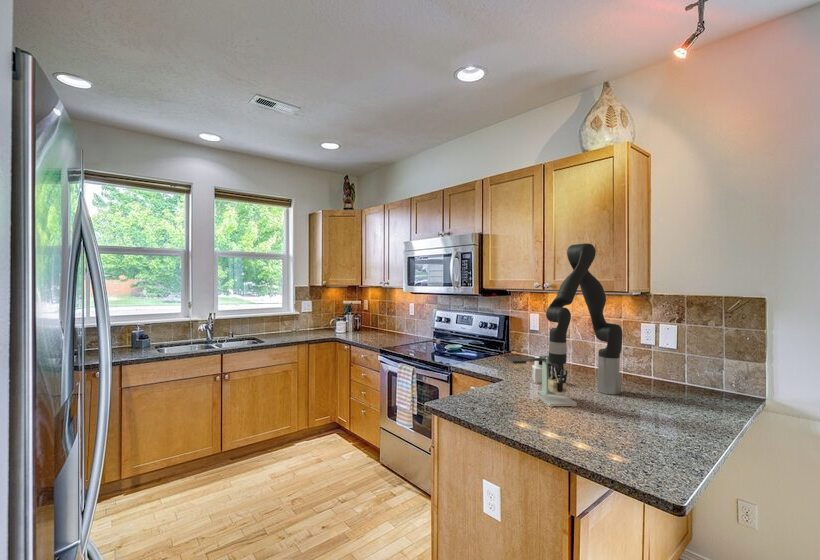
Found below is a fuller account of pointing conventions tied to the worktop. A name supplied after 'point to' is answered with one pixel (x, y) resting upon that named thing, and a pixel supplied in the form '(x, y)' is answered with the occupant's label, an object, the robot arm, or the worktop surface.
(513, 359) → the press lever
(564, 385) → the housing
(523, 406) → the worktop surface
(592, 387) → the worktop surface
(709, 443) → the worktop surface
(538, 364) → the container
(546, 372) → the press frame
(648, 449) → the worktop surface
